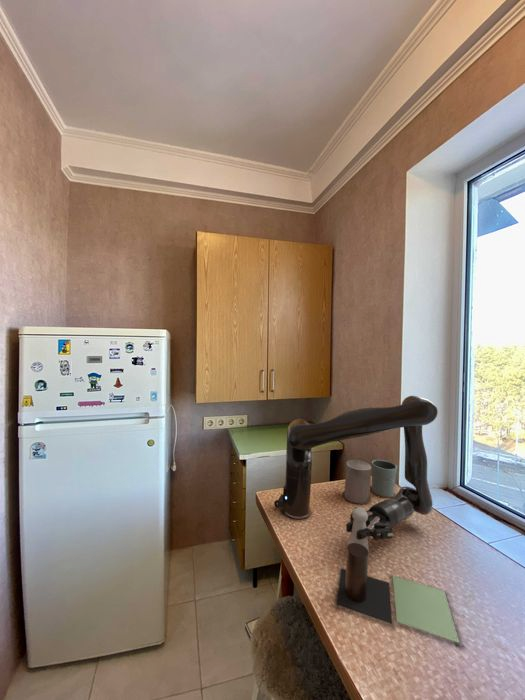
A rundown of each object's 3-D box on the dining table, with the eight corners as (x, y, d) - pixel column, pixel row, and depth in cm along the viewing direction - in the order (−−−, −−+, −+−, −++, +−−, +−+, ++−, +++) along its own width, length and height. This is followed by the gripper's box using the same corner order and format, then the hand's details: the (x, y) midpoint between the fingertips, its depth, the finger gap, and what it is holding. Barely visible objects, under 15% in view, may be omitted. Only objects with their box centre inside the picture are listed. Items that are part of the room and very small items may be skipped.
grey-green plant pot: (383, 500, 118) (385, 470, 118) (364, 488, 127) (366, 461, 127) (400, 495, 123) (402, 466, 122) (381, 484, 132) (382, 457, 131)
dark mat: (336, 607, 69) (336, 604, 69) (341, 570, 80) (341, 568, 80) (391, 626, 65) (392, 623, 65) (389, 585, 76) (389, 582, 76)
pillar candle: (357, 490, 125) (359, 455, 125) (374, 501, 117) (376, 464, 116) (339, 494, 121) (341, 458, 121) (356, 506, 112) (358, 467, 112)
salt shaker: (369, 563, 82) (372, 518, 82) (348, 559, 83) (350, 514, 83) (366, 549, 88) (369, 506, 87) (346, 545, 89) (349, 503, 88)
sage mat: (396, 624, 65) (396, 621, 65) (392, 577, 79) (392, 575, 79) (459, 645, 61) (459, 643, 61) (444, 593, 74) (444, 590, 74)
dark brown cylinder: (344, 598, 71) (346, 553, 70) (345, 582, 76) (348, 540, 75) (365, 605, 69) (368, 559, 69) (366, 589, 74) (368, 546, 73)
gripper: (369, 492, 99) (334, 507, 89) (409, 513, 87) (374, 533, 78) (367, 514, 99) (332, 531, 89) (408, 538, 88) (373, 561, 78)
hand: (352, 532), depth 84 cm, fingers closed on salt shaker, 3 cm apart
